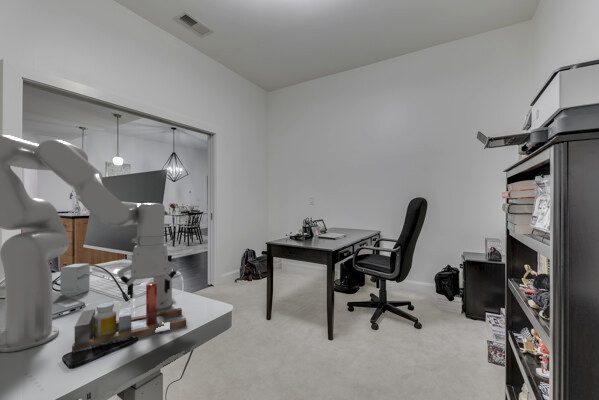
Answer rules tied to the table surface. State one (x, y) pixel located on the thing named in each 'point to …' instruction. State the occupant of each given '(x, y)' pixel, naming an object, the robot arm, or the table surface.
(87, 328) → the vise bench
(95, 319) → the supplement bottle
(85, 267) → the supplement box
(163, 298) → the travel mug
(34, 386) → the table surface
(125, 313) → the vise slider
